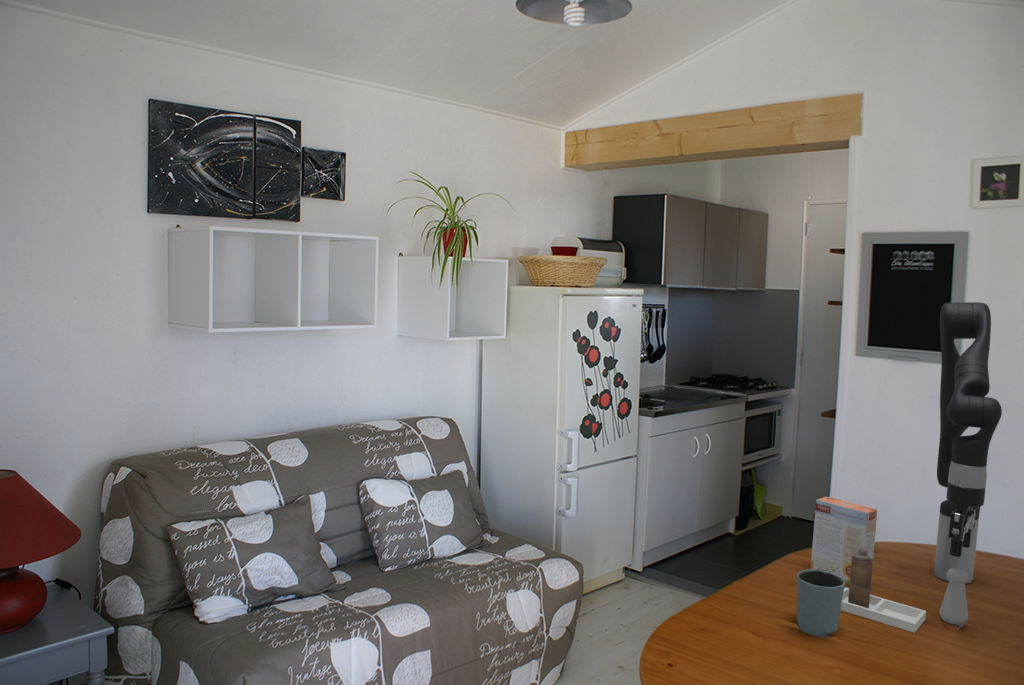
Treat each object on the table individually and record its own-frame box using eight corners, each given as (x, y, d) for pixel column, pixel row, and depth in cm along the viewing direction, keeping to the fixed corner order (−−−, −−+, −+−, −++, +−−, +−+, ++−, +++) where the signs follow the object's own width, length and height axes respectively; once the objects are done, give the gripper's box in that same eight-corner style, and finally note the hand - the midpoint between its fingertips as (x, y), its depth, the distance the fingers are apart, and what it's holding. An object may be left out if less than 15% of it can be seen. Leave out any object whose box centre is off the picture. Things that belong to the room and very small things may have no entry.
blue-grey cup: (839, 623, 182) (843, 573, 181) (842, 643, 173) (846, 590, 171) (792, 615, 185) (796, 566, 184) (793, 634, 176) (797, 582, 175)
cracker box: (871, 587, 204) (878, 508, 202) (860, 593, 201) (867, 512, 198) (820, 570, 215) (827, 494, 213) (809, 574, 211) (815, 498, 209)
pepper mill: (851, 601, 193) (856, 542, 191) (871, 607, 190) (876, 547, 188) (845, 606, 189) (850, 547, 188) (865, 613, 186) (870, 552, 185)
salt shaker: (970, 631, 181) (976, 576, 180) (943, 628, 182) (948, 573, 181) (961, 620, 187) (967, 567, 185) (935, 617, 188) (940, 564, 186)
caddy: (844, 599, 196) (845, 587, 196) (925, 623, 184) (926, 611, 184) (830, 610, 189) (831, 598, 189) (913, 636, 177) (915, 624, 177)
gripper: (955, 473, 189) (949, 539, 190) (940, 484, 178) (933, 554, 180) (991, 480, 184) (984, 548, 185) (978, 492, 173) (971, 563, 175)
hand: (959, 551), depth 183 cm, fingers open, 8 cm apart
